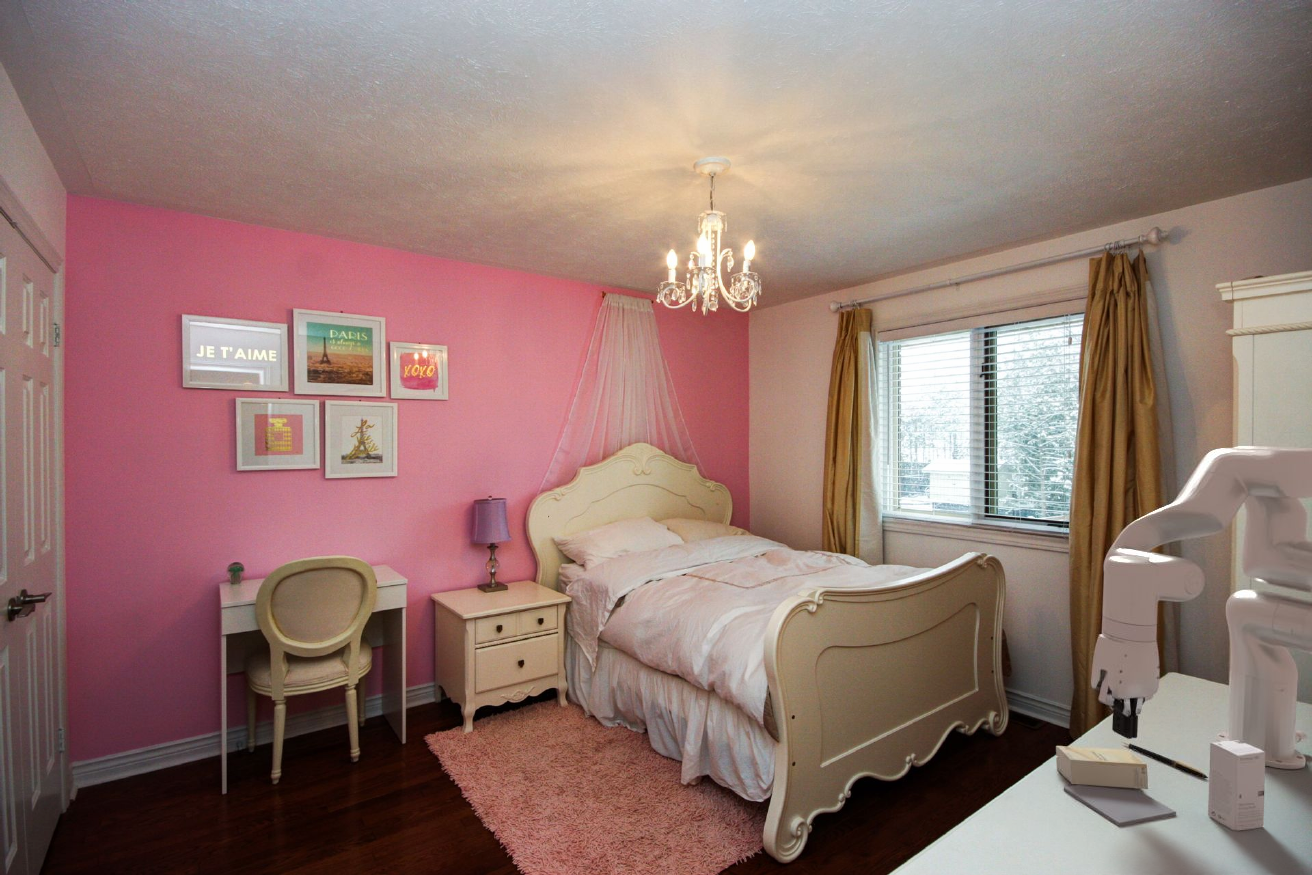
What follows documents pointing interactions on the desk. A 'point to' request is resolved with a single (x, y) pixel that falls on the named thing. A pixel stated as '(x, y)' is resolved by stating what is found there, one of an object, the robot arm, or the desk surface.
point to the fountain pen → (1169, 761)
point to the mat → (1120, 803)
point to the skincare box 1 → (1102, 767)
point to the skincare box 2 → (1236, 785)
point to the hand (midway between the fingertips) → (1124, 734)
